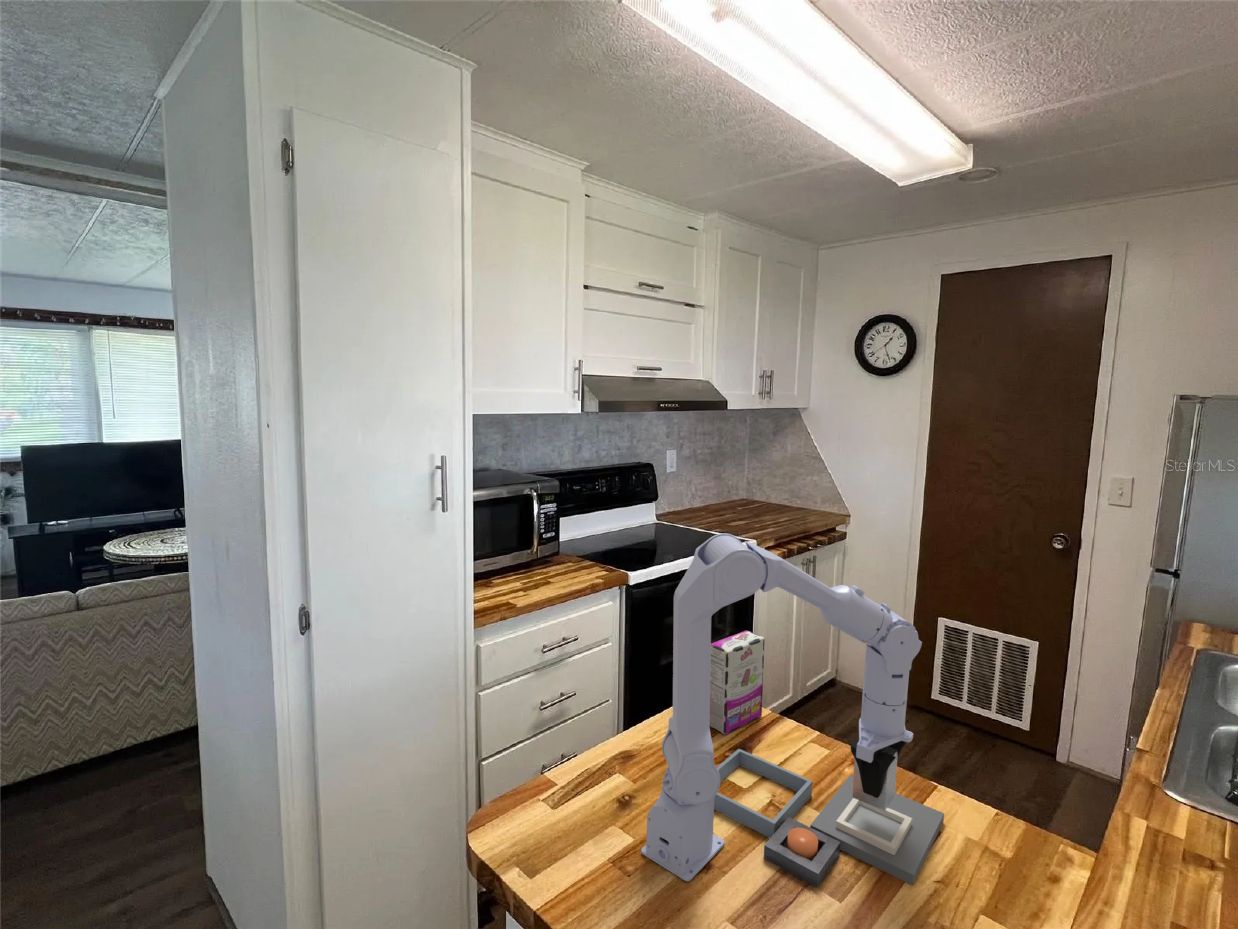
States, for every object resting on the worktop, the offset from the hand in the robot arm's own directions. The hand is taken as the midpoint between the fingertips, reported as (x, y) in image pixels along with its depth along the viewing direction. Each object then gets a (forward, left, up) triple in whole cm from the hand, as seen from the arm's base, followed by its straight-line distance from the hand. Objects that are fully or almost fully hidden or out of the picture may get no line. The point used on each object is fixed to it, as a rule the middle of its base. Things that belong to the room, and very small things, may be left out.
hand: (877, 785), depth 90 cm
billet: (0, 0, -2) cm, 2 cm away
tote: (-4, +17, -8) cm, 19 cm away
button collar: (-11, +6, -8) cm, 15 cm away
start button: (-11, +6, -7) cm, 15 cm away
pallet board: (+2, 0, -8) cm, 8 cm away
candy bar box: (+14, +31, -8) cm, 35 cm away
